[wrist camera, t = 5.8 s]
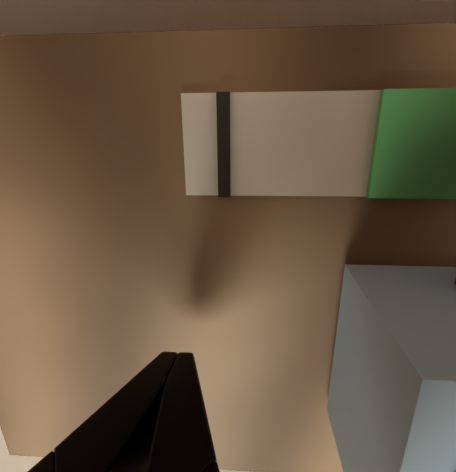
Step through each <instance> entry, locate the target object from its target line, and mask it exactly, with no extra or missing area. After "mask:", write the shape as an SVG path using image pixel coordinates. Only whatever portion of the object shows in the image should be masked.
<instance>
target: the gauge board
mask: <svg viewBox="0 0 456 472" xmlns="http://www.w3.org/2000/svg"><path fill="white" fill-rule="evenodd" d="M345 264H346V265H391V266H436V267H456V23H423V24H390V25H357V26H323V27H290V28H257V29H224V30H190V31H157V32H124V33H90V34H57V35H24V36H0V426H1V429H2V432H3V436H4V439H5V442H6V445H7V448H8V451H9V454H10V455H20V456H35V457H45V456H46V455H47V454H48V453H49V452H51V451H53V452H54V448H55V447H56V446H57V445H59V444H60V443H61V442H62V441H63V440H64V439H65V438H66V437H67V436H69V435H70V434H71V433H72V432H73V431H74V430H75V429H76V428H78V427H79V426H80V425H81V424H82V423H83V422H84V421H85V420H86V419H88V418H89V417H90V416H91V415H92V414H93V413H94V412H95V411H96V410H98V409H99V408H100V407H101V406H102V405H103V404H104V403H105V402H107V401H108V400H109V399H110V398H111V397H112V396H113V395H114V394H115V393H117V392H118V391H119V390H120V389H121V388H122V387H123V386H124V385H126V384H127V383H128V382H129V381H130V380H131V379H132V378H133V377H134V376H136V375H137V374H138V373H139V372H140V371H141V370H142V369H143V368H145V367H146V366H147V365H148V364H149V363H150V362H151V361H152V360H153V359H155V358H156V357H157V356H158V355H159V354H160V353H161V352H164V351H168V352H177V353H179V352H191V353H193V354H194V358H195V362H196V367H197V372H198V376H199V381H200V385H201V390H202V394H203V399H204V404H205V408H206V413H207V417H208V422H209V427H210V431H211V436H212V440H213V445H214V449H215V454H216V459H217V463H218V467H219V469H223V470H238V471H252V472H343V469H342V465H341V461H340V457H339V453H338V450H337V446H336V442H335V438H334V435H333V431H332V427H331V423H330V420H329V416H328V412H327V403H328V395H329V387H330V379H331V371H332V363H333V355H334V347H335V339H336V331H337V323H338V315H339V307H340V299H341V291H342V283H343V275H344V267H345Z"/></svg>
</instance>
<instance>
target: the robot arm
mask: <svg viewBox="0 0 456 472" xmlns="http://www.w3.org/2000/svg"><path fill="white" fill-rule="evenodd" d="M28 472H219V467H218V463H217V459H216V454H215V449H214V445H213V440H212V436H211V431H210V427H209V422H208V417H207V413H206V408H205V404H204V399H203V394H202V390H201V385H200V381H199V376H198V372H197V367H196V362H195V358H194V354H193V353H191V352H179V353H177V352H168V351H164V352H161V353H160V354H159V355H158V356H157V357H156V358H155V359H153V360H152V361H151V362H150V363H149V364H148V365H147V366H146V367H145V368H143V369H142V370H141V371H140V372H139V373H138V374H137V375H136V376H134V377H133V378H132V379H131V380H130V381H129V382H128V383H127V384H126V385H124V386H123V387H122V388H121V389H120V390H119V391H118V392H117V393H115V394H114V395H113V396H112V397H111V398H110V399H109V400H108V401H107V402H105V403H104V404H103V405H102V406H101V407H100V408H99V409H98V410H96V411H95V412H94V413H93V414H92V415H91V416H90V417H89V418H88V419H86V420H85V421H84V422H83V423H82V424H81V425H80V426H79V427H78V428H76V429H75V430H74V431H73V432H72V433H71V434H70V435H69V436H67V437H66V438H65V439H64V440H63V441H62V442H61V443H60V444H59V445H57V446H56V447H55V448H54V452H53V451H51V452H49V453H48V454H47V455H46V456H45V457H44V458H43V459H42V460H40V461H39V462H38V463H37V464H36V465H35V466H34V467H33V468H31V469H30V470H29V471H28Z"/></svg>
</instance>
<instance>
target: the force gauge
mask: <svg viewBox="0 0 456 472" xmlns="http://www.w3.org/2000/svg"><path fill="white" fill-rule="evenodd" d="M327 412H328V416H329V420H330V423H331V427H332V431H333V435H334V438H335V442H336V446H337V450H338V453H339V457H340V461H341V465H342V469H343V472H456V267H436V266H391V265H346V264H345V267H344V275H343V283H342V291H341V299H340V307H339V315H338V323H337V331H336V339H335V347H334V355H333V363H332V371H331V379H330V387H329V395H328V403H327Z"/></svg>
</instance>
